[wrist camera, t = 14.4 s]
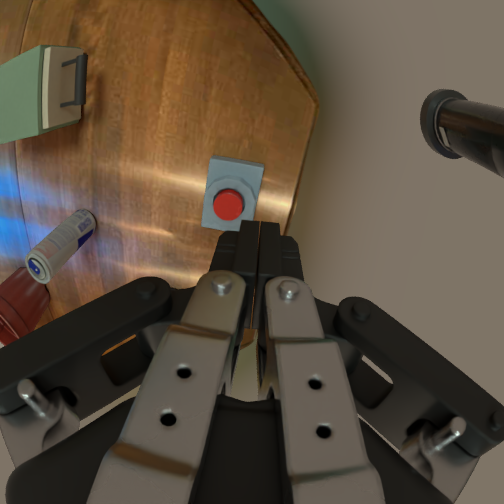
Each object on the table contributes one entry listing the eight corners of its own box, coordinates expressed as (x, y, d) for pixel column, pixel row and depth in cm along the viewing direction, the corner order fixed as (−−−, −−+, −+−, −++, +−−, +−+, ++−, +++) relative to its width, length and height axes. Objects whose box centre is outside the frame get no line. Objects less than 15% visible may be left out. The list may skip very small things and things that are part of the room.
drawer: (107, 42, 25) (75, 37, 19) (103, 115, 31) (71, 123, 25) (27, 69, 25) (-5, 73, 18) (27, 129, 31) (-4, 141, 24)
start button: (217, 186, 34) (215, 191, 33) (245, 192, 34) (244, 197, 33) (213, 212, 36) (211, 218, 34) (240, 217, 36) (239, 223, 35)
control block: (213, 154, 35) (207, 161, 32) (264, 164, 36) (264, 171, 32) (203, 219, 41) (198, 232, 37) (250, 228, 41) (248, 242, 38)
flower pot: (29, 308, 56) (1, 347, 43) (4, 258, 48) (-32, 297, 34) (66, 314, 55) (36, 362, 42) (39, 258, 47) (-3, 305, 33)
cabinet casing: (81, 47, 26) (40, 44, 17) (78, 122, 32) (38, 135, 24) (23, 69, 25) (-15, 74, 17) (23, 133, 32) (-14, 148, 24)
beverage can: (72, 220, 41) (21, 267, 29) (82, 201, 39) (27, 247, 27) (90, 238, 43) (44, 290, 30) (102, 220, 41) (52, 272, 28)
